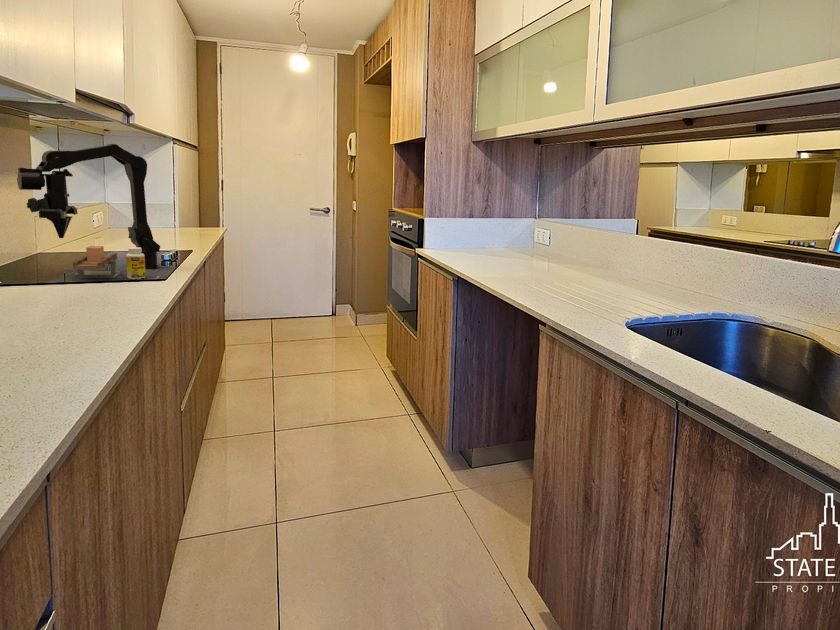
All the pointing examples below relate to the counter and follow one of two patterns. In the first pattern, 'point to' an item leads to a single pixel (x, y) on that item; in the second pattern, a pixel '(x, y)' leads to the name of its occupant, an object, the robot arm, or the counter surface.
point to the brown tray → (94, 265)
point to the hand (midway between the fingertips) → (61, 238)
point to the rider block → (95, 253)
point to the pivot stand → (98, 273)
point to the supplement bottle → (135, 263)
